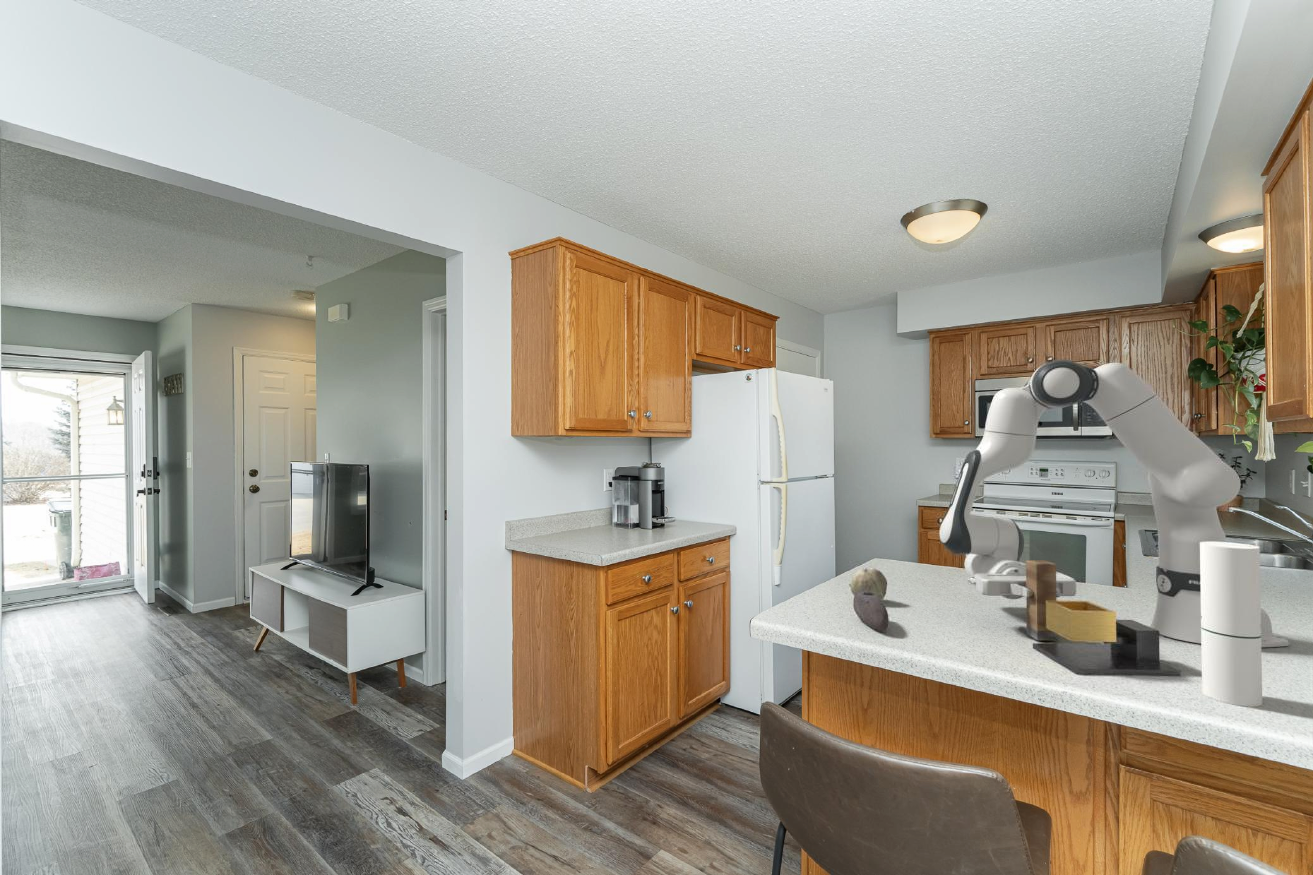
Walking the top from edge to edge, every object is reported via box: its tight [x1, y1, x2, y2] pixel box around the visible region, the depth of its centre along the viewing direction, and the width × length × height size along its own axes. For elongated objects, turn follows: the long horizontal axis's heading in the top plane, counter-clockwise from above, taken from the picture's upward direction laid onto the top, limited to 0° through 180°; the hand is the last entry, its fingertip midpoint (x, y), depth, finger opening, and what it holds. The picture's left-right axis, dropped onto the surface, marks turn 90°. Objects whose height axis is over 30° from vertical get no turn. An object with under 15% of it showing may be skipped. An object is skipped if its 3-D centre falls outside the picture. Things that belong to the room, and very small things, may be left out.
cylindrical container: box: [1200, 541, 1263, 708], centre depth 99 cm, size 7×7×25 cm
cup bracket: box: [1032, 600, 1182, 677], centre depth 115 cm, size 18×14×10 cm
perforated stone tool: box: [853, 590, 889, 632], centre depth 139 cm, size 15×5×7 cm, turn 178°
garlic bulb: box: [848, 567, 888, 601], centre depth 160 cm, size 9×8×10 cm
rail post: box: [1025, 559, 1059, 641], centre depth 129 cm, size 4×4×16 cm
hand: (1043, 593), depth 128 cm, fingers closed on rail post, 4 cm apart
